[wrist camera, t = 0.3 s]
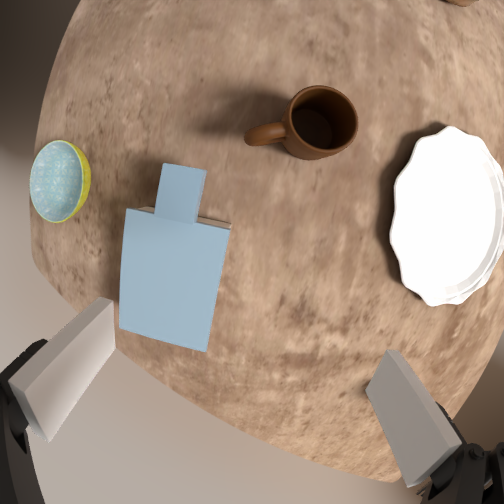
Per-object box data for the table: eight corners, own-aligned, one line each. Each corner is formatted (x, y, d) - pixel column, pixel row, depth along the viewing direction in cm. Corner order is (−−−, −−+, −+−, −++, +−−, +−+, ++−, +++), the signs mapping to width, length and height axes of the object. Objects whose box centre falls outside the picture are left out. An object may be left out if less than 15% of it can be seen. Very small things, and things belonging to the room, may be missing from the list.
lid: (141, 159, 30) (131, 158, 27) (242, 177, 30) (241, 177, 27) (124, 321, 35) (116, 331, 33) (207, 344, 36) (204, 356, 33)
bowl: (62, 225, 36) (38, 233, 30) (48, 160, 33) (23, 160, 27) (114, 203, 35) (92, 208, 29) (98, 131, 32) (75, 125, 26)
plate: (370, 303, 39) (376, 310, 37) (388, 110, 31) (395, 106, 29) (485, 296, 39) (492, 301, 37) (503, 153, 31) (511, 153, 29)
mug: (254, 175, 34) (254, 173, 25) (238, 121, 32) (232, 101, 23) (341, 154, 33) (368, 147, 24) (325, 102, 31) (347, 79, 22)
